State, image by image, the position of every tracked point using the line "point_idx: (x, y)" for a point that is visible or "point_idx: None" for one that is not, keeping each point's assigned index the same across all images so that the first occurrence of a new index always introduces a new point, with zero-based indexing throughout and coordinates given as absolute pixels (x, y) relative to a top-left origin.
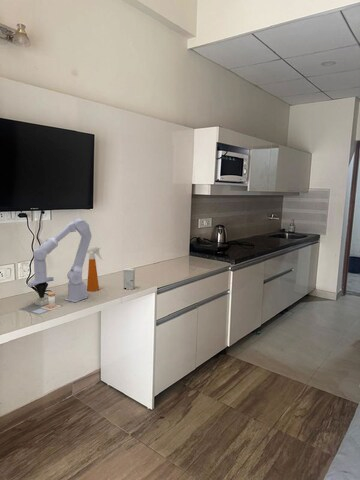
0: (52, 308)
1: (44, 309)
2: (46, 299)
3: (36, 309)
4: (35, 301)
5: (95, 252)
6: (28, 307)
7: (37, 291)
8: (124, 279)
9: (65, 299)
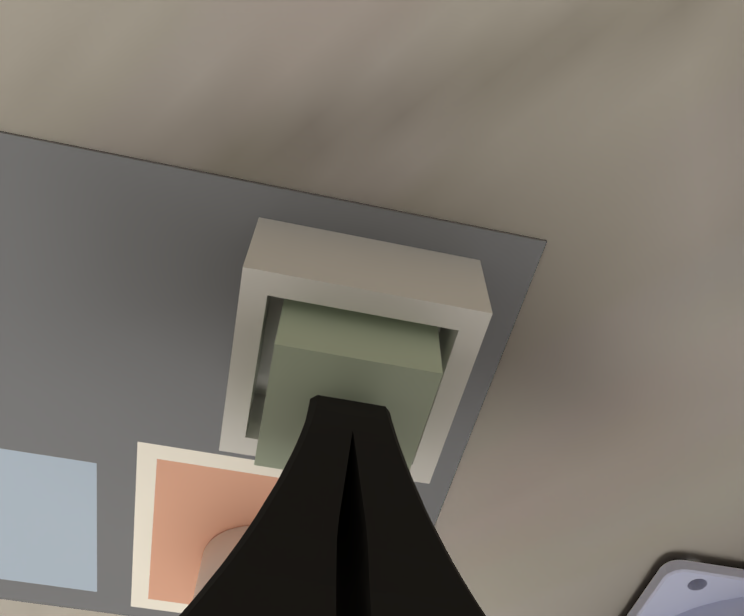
0: None
1: (101, 534)
2: (422, 445)
3: (19, 435)
4: (247, 260)
5: None
6: (1, 220)
7: (253, 520)
8: None
9: (658, 583)
